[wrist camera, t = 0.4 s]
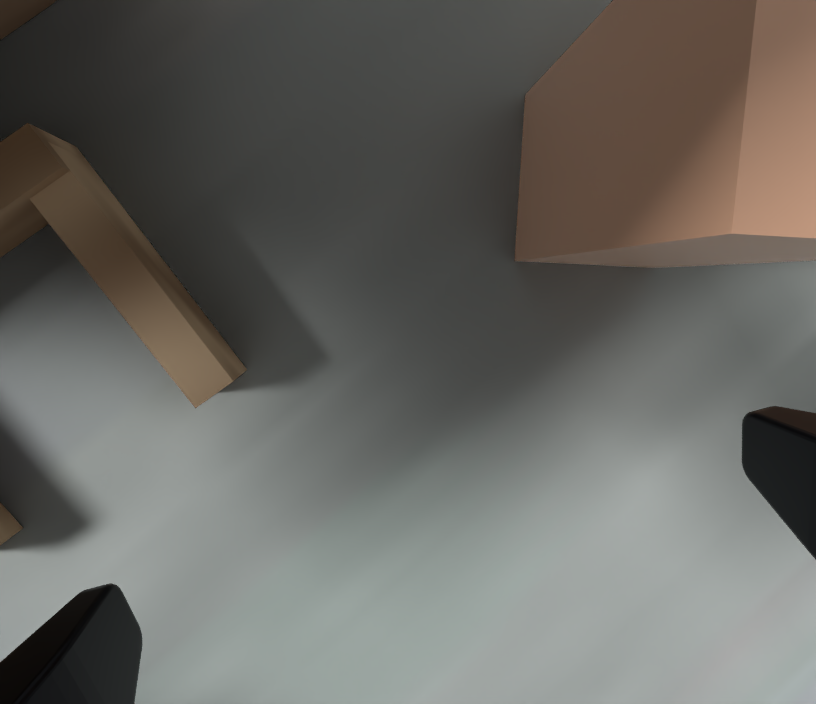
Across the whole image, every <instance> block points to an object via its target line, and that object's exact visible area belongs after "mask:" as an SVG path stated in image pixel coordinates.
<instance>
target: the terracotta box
mask: <svg viewBox="0 0 816 704" xmlns="http://www.w3.org/2000/svg"><path fill="white" fill-rule="evenodd" d="M514 261H522V262H542V263H563V264H583V265H603V266H623V267H644V268H664V267H686V266H707V265H729V264H751V263H773V262H795V261H816V0H613V1H612V2H611V3H610V4H609V5H608V6H607V7H606V8H605V9H604V10H603V11H602V13H601V14H600V15H599V16H598V17H597V18H596V19H595V20H594V21H593V22H592V23H591V24H590V25H589V26H588V28H587V29H586V30H585V31H584V32H583V33H582V34H581V35H580V36H579V37H578V38H577V39H576V40H575V42H574V43H573V44H572V45H571V46H570V47H569V48H568V49H567V50H566V51H565V52H564V53H563V54H562V56H561V57H560V58H559V59H558V60H557V61H556V62H555V63H554V64H553V65H552V66H551V67H550V68H549V70H548V71H547V72H546V73H545V74H544V75H543V76H542V77H541V78H540V79H539V80H538V81H537V82H536V84H535V85H534V86H533V87H532V88H531V89H530V90H529V91H528V92H527V93H526V94H525V105H524V120H523V135H522V151H521V166H520V182H519V197H518V212H517V228H516V243H515V258H514Z"/></svg>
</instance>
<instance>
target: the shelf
mask: <svg viewBox="0 0 816 704" xmlns="http://www.w3.org/2000/svg"><path fill="white" fill-rule="evenodd" d="M56 1H57V0H0V40H1V39H3V38H4V37H6V36H7V35H9V34H10V33H11V32H13V31H14V30H16V29H17V28H19V27H20V26H22V25H23V24H24V23H26V22H27V21H29V20H30V19H32V18H33V17H34V16H36V15H37V14H39V13H40V12H42V11H43V10H45V9H46V8H47V7H49V6H50V5H52V4H53V3H55V2H56ZM48 224H50V225H51V227H52V228H53V229H54V230H55V232H56V233H57V234H58V235H59V237H60V238H61V239H62V241H63V242H64V243H65V244H66V246H67V247H68V248H69V249H70V251H71V252H72V253H73V254H74V256H75V257H76V258H77V259H78V261H79V262H80V263H81V264H82V266H83V267H84V268H85V270H86V271H87V272H88V273H89V275H90V276H91V277H92V278H93V280H94V281H95V282H96V283H97V285H98V286H99V287H100V288H101V290H102V291H103V292H104V293H105V295H106V296H107V297H108V299H109V300H110V301H111V302H112V304H113V305H114V306H115V307H116V309H117V310H118V311H119V312H120V314H121V315H122V316H123V317H124V319H125V320H126V321H127V323H128V324H129V325H130V326H131V328H132V329H133V330H134V331H135V333H136V334H137V335H138V336H139V338H140V339H141V340H142V341H143V343H144V344H145V345H146V346H147V348H148V349H149V350H150V352H151V353H152V354H153V355H154V357H155V358H156V359H157V360H158V362H159V363H160V364H161V365H162V367H163V368H164V369H165V370H166V372H167V373H168V374H169V375H170V377H171V378H172V379H173V381H174V382H175V383H176V384H177V386H178V387H179V388H180V389H181V391H182V392H183V393H184V394H185V396H186V397H187V398H188V399H189V401H190V402H191V403H192V404H193V406H194V407H195V408H196V407H198V406H199V405H201V404H202V403H204V402H205V401H206V400H208V399H209V398H211V397H212V396H213V395H215V394H216V393H218V392H219V391H221V390H222V389H223V388H225V387H226V386H228V385H229V384H230V383H232V382H233V381H234V380H236V379H237V378H238V377H239V376H240V375H242V374H243V373H244V372H245V371H246V370H247V369H246V368H245V366H244V365H243V364H242V362H241V361H240V360H239V358H238V357H237V356H236V355H235V353H234V352H233V351H232V349H231V348H230V347H229V345H228V344H227V343H226V341H225V340H224V339H223V338H222V336H221V335H220V334H219V332H218V331H217V330H216V328H215V327H214V326H213V324H212V323H211V322H210V321H209V319H208V318H207V317H206V315H205V314H204V313H203V311H202V310H201V309H200V308H199V306H198V305H197V304H196V302H195V301H194V300H193V298H192V297H191V296H190V294H189V293H188V292H187V291H186V289H185V288H184V287H183V285H182V284H181V283H180V281H179V280H178V279H177V277H176V276H175V275H174V274H173V272H172V271H171V270H170V268H169V267H168V266H167V264H166V263H165V262H164V260H163V259H162V258H161V257H160V255H159V254H158V253H157V251H156V250H155V249H154V247H153V246H152V245H151V243H150V242H149V241H148V240H147V238H146V237H145V236H144V234H143V233H142V232H141V230H140V229H139V228H138V227H137V225H136V224H135V223H134V221H133V220H132V219H131V217H130V216H129V215H128V213H127V212H126V211H125V210H124V208H123V207H122V206H121V204H120V203H119V202H118V200H117V199H116V198H115V196H114V195H113V194H112V193H111V191H110V190H109V189H108V187H107V186H106V185H105V183H104V182H103V181H102V179H101V178H100V177H99V176H98V174H97V173H96V172H95V170H94V169H93V168H92V166H91V165H90V164H89V162H88V161H87V160H86V159H85V157H84V156H83V155H82V153H81V152H80V151H79V149H78V148H77V147H76V146H74V145H72V144H70V143H68V142H66V141H64V140H62V139H60V138H57V137H55V136H53V135H51V134H49V133H47V132H45V131H43V130H41V129H39V128H37V127H35V126H33V125H31V124H29V123H27V124H25V125H24V126H22V127H21V128H20V129H18V130H17V131H15V132H14V133H12V134H11V135H10V136H8V137H7V138H5V139H4V140H2V141H1V142H0V258H1V257H2V256H4V255H5V254H6V253H8V252H9V251H11V250H12V249H14V248H15V247H16V246H18V245H19V244H21V243H22V242H24V241H25V240H26V239H28V238H29V237H31V236H32V235H34V234H35V233H36V232H38V231H39V230H41V229H42V228H44V227H45V226H46V225H48ZM21 529H23V527H22V526H21V525H20V524H19V523H18V522H17V521H16V519H15V518H14V517H13V516H12V515H11V514H10V513H9V511H8V510H7V509H6V508H5V507H4V506H3V505H2V504H1V502H0V545H2V544H3V543H4V542H6V541H7V540H8V539H9V538H11V537H12V536H13V535H15V534H16V533H17V532H19V531H20V530H21Z"/></svg>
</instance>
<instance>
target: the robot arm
mask: <svg viewBox="0 0 816 704" xmlns="http://www.w3.org/2000/svg"><path fill="white" fill-rule="evenodd" d="M742 464H743V468H744V471H745V473H746V475H747V477H748V478H749V480H750V481H751V482H752V483H753V485H754V486H755V487H756V488H757V489H758V491H759V492H760V493H761V494H762V496H763V497H764V498H765V499H766V500H767V502H768V503H769V504H770V505H771V506H772V508H773V509H774V510H775V511H776V512H777V514H778V515H779V516H780V517H781V519H782V520H783V521H784V522H785V523H786V525H787V526H788V527H789V528H790V529H791V531H792V532H793V533H794V534H795V535H796V537H797V538H798V539H799V540H800V542H801V543H802V544H803V545H804V546H805V548H806V549H807V550H808V551H809V552H810V553H811V555H812V556H813V557H814V558H815V559H816V413H811V412H805V411H800V410H794V409H789V408H784V407H778V406H772V407H767V408H763V409H760V410H756V411H752V412H749V413H748V414H746V415H745V417H744V419H743V422H742ZM141 651H142V634H141V630H140V627H139V624H138V622H137V620H136V618H135V616H134V614H133V612H132V610H131V608H130V606H129V604H128V602H127V600H126V598H125V596H124V594H123V592H122V591H121V589H120V588H119V587H118V586H117V585H115V584H106V585H102V586H98V587H94V588H91V589H87V590H84V591H82V592H80V593H79V594H78V595H76V596H75V597H74V598H73V599H72V600H71V601H70V602H68V603H67V604H66V605H65V606H64V607H63V608H62V609H61V610H59V611H58V612H57V613H56V614H55V615H54V616H53V617H51V618H50V619H49V620H48V621H47V622H46V623H45V624H43V625H42V626H41V627H40V628H39V629H38V630H37V631H35V632H34V633H33V634H32V635H31V636H30V637H29V638H27V639H26V640H25V641H24V642H23V643H22V644H21V645H19V646H18V647H17V648H16V649H15V650H14V651H13V652H11V653H10V654H9V655H8V656H7V657H6V658H5V659H3V660H2V661H1V662H0V704H134V702H135V694H136V687H137V680H138V673H139V666H140V658H141Z"/></svg>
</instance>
